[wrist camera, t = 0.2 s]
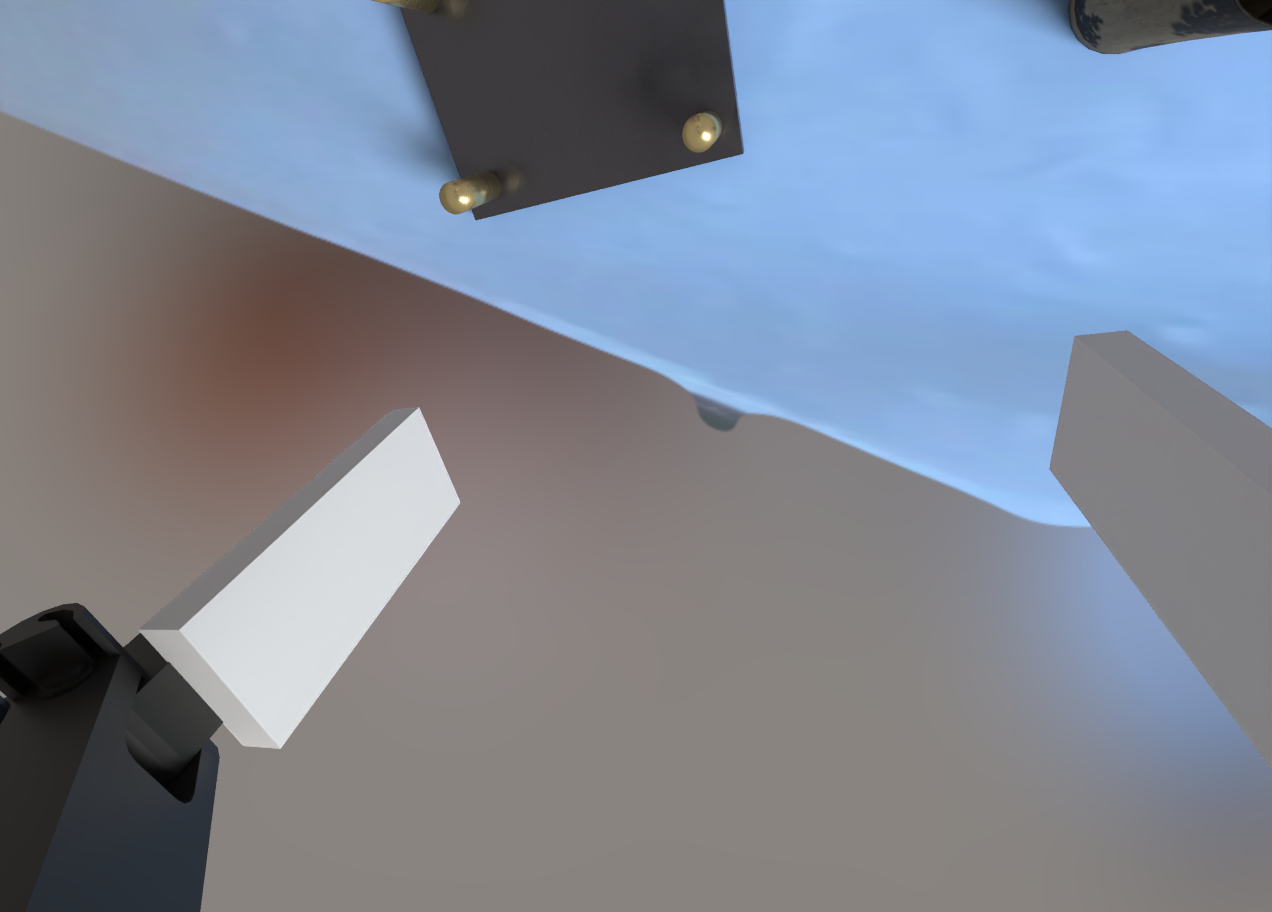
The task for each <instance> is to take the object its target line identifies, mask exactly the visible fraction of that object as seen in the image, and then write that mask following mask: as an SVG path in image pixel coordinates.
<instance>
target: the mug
mask: <svg viewBox="0 0 1272 912" xmlns="http://www.w3.org/2000/svg"><path fill="white" fill-rule="evenodd" d="M1068 12H1069V18H1070V24H1071V28H1072V30H1073V32H1074V33H1075V35H1076V37H1077V39H1078V40H1079V41H1080V42H1081V43H1082V44H1083V45H1085V46H1086V47H1087V48H1088V49H1090V50H1093V51H1096V52H1099V53H1102V54H1121V53H1125V52H1130V51H1134V50H1138V49H1142V48H1147V47H1153V46H1159V45H1165V44H1170V43H1176V42H1182V41H1189V40H1196V39H1203V38H1211V37H1218V36H1225V35H1232V34H1240V33H1249V32H1258V31H1267V30H1272V0H1069V9H1068Z"/></svg>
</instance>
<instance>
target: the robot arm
mask: <svg viewBox="0 0 1272 912" xmlns="http://www.w3.org/2000/svg"><path fill="white" fill-rule="evenodd" d="M1049 469H1050V471H1051V472H1052V473H1053V475H1054V476H1055V477H1056V479H1057V480H1058V481H1059V483H1060V484H1061V485H1062V487H1063V488H1064V489H1065V491H1066V492H1067V494H1068V495H1069V496H1070V498H1071V499H1072V500H1073V502H1074V503H1075V504H1076V506H1077V507H1078V508H1079V510H1080V511H1081V512H1082V514H1083V515H1084V516H1085V518H1086V519H1087V521H1088V522H1089V523H1090V525H1091V526H1092V527H1093V529H1094V530H1095V531H1096V533H1097V534H1098V535H1099V537H1100V538H1101V539H1102V541H1103V542H1104V543H1105V545H1106V546H1107V547H1108V549H1109V550H1110V552H1111V553H1112V554H1113V556H1114V557H1115V558H1116V560H1117V561H1118V562H1119V564H1120V565H1121V566H1122V568H1123V569H1124V570H1125V572H1126V573H1127V574H1128V576H1129V577H1130V579H1131V580H1132V581H1133V582H1134V584H1135V585H1136V587H1137V588H1138V589H1139V591H1140V592H1141V593H1142V595H1143V596H1144V597H1145V599H1146V600H1147V602H1148V603H1149V604H1150V606H1151V607H1152V608H1153V610H1154V611H1155V612H1156V614H1157V615H1158V616H1159V618H1160V619H1161V620H1162V621H1163V623H1164V624H1165V626H1166V627H1167V629H1168V630H1169V631H1170V632H1171V634H1172V635H1173V637H1174V638H1175V639H1176V641H1177V642H1178V643H1179V645H1180V646H1181V647H1182V649H1183V650H1184V651H1185V653H1186V654H1187V655H1188V657H1189V658H1190V660H1191V661H1192V662H1193V664H1194V665H1195V666H1196V668H1197V669H1198V670H1199V672H1200V673H1201V674H1202V676H1203V677H1204V678H1205V679H1206V681H1207V683H1208V684H1209V685H1210V687H1211V688H1212V689H1213V691H1214V692H1215V693H1216V695H1217V696H1218V697H1219V699H1220V700H1221V701H1222V703H1223V704H1224V705H1225V707H1226V708H1227V709H1228V711H1229V712H1230V714H1231V715H1232V716H1233V718H1234V719H1235V720H1236V722H1237V723H1238V724H1239V726H1240V727H1241V728H1242V730H1243V731H1244V732H1245V734H1246V735H1247V737H1248V738H1249V739H1250V741H1251V742H1252V743H1253V744H1254V746H1255V747H1256V749H1257V750H1258V751H1259V753H1260V754H1261V755H1262V757H1263V758H1264V759H1265V761H1266V762H1267V764H1268V765H1269V766H1270V767H1271V769H1272V428H1271V427H1269V426H1268V425H1266V424H1265V423H1263V422H1262V421H1260V420H1259V419H1257V418H1256V417H1254V416H1253V415H1251V414H1250V413H1248V412H1247V411H1245V410H1244V409H1242V408H1241V407H1240V406H1238V405H1237V404H1235V403H1234V402H1232V401H1231V400H1229V399H1228V398H1226V397H1225V396H1223V395H1222V394H1220V393H1219V392H1217V391H1216V390H1214V389H1213V388H1211V387H1210V386H1208V385H1207V384H1206V383H1204V382H1203V381H1201V380H1200V379H1198V378H1197V377H1195V376H1194V375H1192V374H1191V373H1189V372H1188V371H1186V370H1185V369H1183V368H1182V367H1180V366H1179V365H1177V364H1176V363H1175V362H1173V361H1172V360H1170V359H1169V358H1167V357H1166V356H1164V355H1163V354H1161V353H1160V352H1158V351H1157V350H1155V349H1154V348H1152V347H1151V346H1149V345H1148V344H1146V343H1145V342H1143V341H1142V340H1141V339H1139V338H1138V337H1136V336H1135V335H1133V334H1132V333H1130V332H1129V331H1127V330H1126V331H1117V332H1108V333H1098V334H1089V335H1080V336H1074V342H1073V347H1072V352H1071V357H1070V363H1069V368H1068V373H1067V378H1066V384H1065V389H1064V394H1063V399H1062V405H1061V410H1060V415H1059V420H1058V426H1057V431H1056V436H1055V441H1054V447H1053V452H1052V457H1051V462H1050V468H1049ZM459 504H460V501H459V498H458V496H457V493H456V491H455V489H454V487H453V484H452V482H451V480H450V477H449V475H448V473H447V470H446V468H445V466H444V464H443V461H442V459H441V457H440V454H439V452H438V450H437V447H436V445H435V443H434V441H433V438H432V436H431V434H430V431H429V429H428V427H427V425H426V422H425V420H424V418H423V416H422V413H421V411H420V408H419V407H417V408H407V409H399V410H391V411H390V412H388V413H387V414H386V415H385V416H384V417H383V418H381V419H380V420H379V421H378V422H377V423H376V424H375V425H373V426H372V427H371V428H370V429H369V430H368V431H366V432H365V433H364V434H363V435H362V436H361V437H360V438H358V439H357V440H356V441H355V442H354V443H353V444H351V445H350V446H349V447H348V448H347V449H346V450H345V451H343V452H342V453H341V454H340V455H339V456H338V457H336V458H335V459H334V460H333V461H332V462H331V463H330V464H328V465H327V466H326V467H325V468H324V469H323V470H322V471H320V472H319V473H318V474H317V475H316V476H315V477H314V478H312V479H311V480H310V481H309V482H308V483H307V484H305V485H304V486H303V487H302V488H301V489H300V490H299V491H297V492H296V493H295V494H294V495H293V496H292V497H290V498H289V499H288V500H287V501H286V502H285V503H283V504H282V505H281V506H280V507H279V508H278V509H277V510H275V511H274V512H273V513H272V514H271V515H270V516H268V518H266V519H265V520H264V521H263V522H262V523H260V524H259V525H258V526H257V527H256V528H255V529H254V530H252V531H251V532H250V533H249V534H248V535H247V536H245V537H244V538H243V539H242V540H241V541H240V542H239V543H238V544H236V545H235V546H234V547H233V548H232V549H230V550H229V551H228V552H227V553H226V554H225V555H224V556H222V557H221V558H220V559H219V560H218V561H217V562H215V563H214V564H213V565H212V566H211V567H210V568H209V569H207V570H206V571H205V572H204V573H203V574H202V575H200V576H199V577H198V578H197V579H196V580H195V581H194V582H192V583H191V584H190V585H189V586H188V587H187V588H185V589H184V590H183V591H182V592H181V593H180V594H179V595H177V596H176V597H175V598H174V599H173V600H172V601H171V602H169V603H168V604H167V605H166V606H165V607H164V608H162V609H161V610H160V611H159V612H158V613H157V614H155V615H154V616H153V617H152V618H151V619H150V620H149V621H148V622H146V623H145V624H144V625H143V626H142V627H140V629H138V630H139V631H140V632H141V633H140V634H139V635H137V636H136V637H135V638H134V639H133V640H132V641H131V642H130V643H129V644H127V645H126V646H125V647H122V646H121V645H120V644H119V643H118V642H117V641H116V640H115V638H114V637H113V636H112V635H111V634H110V633H109V632H108V631H107V630H106V629H105V628H104V627H103V626H102V625H101V624H100V623H99V622H98V620H97V619H96V618H95V617H94V616H93V615H92V614H91V613H90V612H89V611H88V610H87V609H86V608H85V607H84V606H82V605H80V604H78V603H73V604H63V605H60V606H57V607H54V608H51V609H48V610H45V611H42V612H40V613H38V614H36V615H34V616H32V617H30V618H28V619H26V620H24V621H21V622H20V623H18V624H17V625H15V626H13V627H12V628H10V629H8V630H7V631H5V632H3V633H2V634H0V691H1V692H2V693H4V694H5V695H6V696H7V697H6V698H2V697H1V696H0V912H200V909H201V900H202V893H203V885H204V877H205V869H206V861H207V853H208V845H209V837H210V829H211V821H212V813H213V805H214V797H215V789H216V782H217V774H218V765H219V758H220V757H219V752H218V748H217V746H215V744H214V743H213V742H212V741H211V740H210V737H211V736H212V735H213V734H214V733H215V731H216V730H217V729H218V728H219V727H220V726H221V724H222V723H223V724H224V725H225V726H226V727H227V728H228V730H229V731H230V732H231V733H232V734H233V735H234V736H235V737H236V738H237V740H238V741H239V742H240V743H241V744H242V745H243V746H252V747H265V748H278V749H280V748H281V747H282V746H283V744H284V743H285V742H286V740H287V739H288V738H289V736H290V735H291V734H292V732H293V731H294V729H295V728H296V727H297V725H298V724H299V723H300V721H301V720H302V719H303V717H304V716H305V714H306V713H307V712H308V710H309V709H310V708H311V706H312V705H313V704H314V702H315V700H316V699H317V698H318V697H319V695H320V694H321V693H322V691H323V690H324V688H325V687H326V686H327V684H328V683H329V682H330V680H331V679H332V677H333V676H334V675H335V673H336V672H337V671H338V669H339V668H340V666H341V665H342V664H343V662H344V661H345V660H346V658H347V657H348V656H349V654H350V653H351V652H352V650H353V649H354V647H355V646H356V645H357V643H358V642H359V641H360V639H361V638H362V636H363V635H364V634H365V632H366V631H367V630H368V628H369V627H370V626H371V624H372V623H373V621H374V620H375V619H376V617H377V616H378V615H379V613H380V612H381V611H382V609H383V608H384V606H385V605H386V604H387V602H388V601H389V600H390V598H391V597H392V595H393V594H394V593H395V591H396V590H397V589H398V587H399V586H400V585H401V583H402V582H403V580H404V579H405V578H406V576H407V575H408V573H409V572H410V571H411V569H412V568H413V567H414V565H415V564H416V563H417V561H418V560H419V559H420V557H421V556H422V554H423V553H424V552H425V550H426V549H427V548H428V546H429V545H430V543H431V542H432V541H433V539H434V538H435V537H436V535H437V534H438V532H439V531H440V530H441V528H442V527H443V526H444V524H445V523H446V522H447V520H448V519H449V518H450V516H451V515H452V513H453V512H454V511H455V509H456V508H457V506H458V505H459Z"/></svg>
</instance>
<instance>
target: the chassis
mask: <svg viewBox="0 0 1272 912" xmlns="http://www.w3.org/2000/svg"><path fill="white" fill-rule="evenodd" d="M372 1H376V2H381V3H385V4H390V5H394V6H399V7H400V9H401V12H402V14H403V17H404V20H405V23H406V26H407V29H408V31H409V34H410V37H411V40H412V43H413V45H414V48H415V51H416V54H417V57H418V60H419V62H420V65H421V68H422V71H423V74H424V76H425V79H426V82H427V85H428V88H429V91H430V93H431V96H432V99H433V102H434V105H435V107H436V110H437V113H438V116H439V119H440V122H441V124H442V127H443V130H444V133H445V136H446V138H447V141H448V144H449V147H450V150H451V153H452V155H453V158H454V161H455V164H456V167H457V169H458V172H459V175H460V178H461V179H459V180H455V181H452V182H449V183H446V184H444V185H443V186H442V187H441V189H440V193H439V198H440V202H441V204H442V206H443V207H444V208H445V210H447V211H448V212H450V213H452V214H460V213H463V212H465V211H468V210H470V209H472V212H473V214H474V217H475V220H479V219H483V218H487V217H491V216H495V215H499V214H503V213H507V212H511V211H515V210H519V209H523V208H527V207H531V206H535V205H539V204H543V203H547V202H551V201H555V200H559V199H563V198H567V197H571V196H575V195H579V194H583V193H587V192H591V191H596V190H600V189H604V188H608V187H612V186H616V185H620V184H624V183H628V182H632V181H636V180H640V179H644V178H648V177H652V176H656V175H660V174H664V173H668V172H672V171H676V170H680V169H684V168H688V167H692V166H696V165H700V164H704V163H708V162H712V161H716V160H720V159H724V158H728V157H732V156H736V155H740V154H743V153H744V147H743V140H742V132H741V124H740V117H739V109H738V101H737V93H736V86H735V78H734V70H733V63H732V55H731V47H730V40H729V32H728V24H727V17H726V9H725V1H724V0H372Z"/></svg>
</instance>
